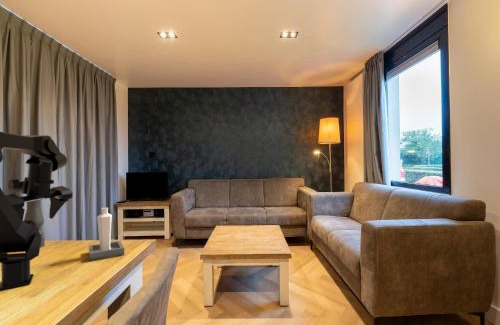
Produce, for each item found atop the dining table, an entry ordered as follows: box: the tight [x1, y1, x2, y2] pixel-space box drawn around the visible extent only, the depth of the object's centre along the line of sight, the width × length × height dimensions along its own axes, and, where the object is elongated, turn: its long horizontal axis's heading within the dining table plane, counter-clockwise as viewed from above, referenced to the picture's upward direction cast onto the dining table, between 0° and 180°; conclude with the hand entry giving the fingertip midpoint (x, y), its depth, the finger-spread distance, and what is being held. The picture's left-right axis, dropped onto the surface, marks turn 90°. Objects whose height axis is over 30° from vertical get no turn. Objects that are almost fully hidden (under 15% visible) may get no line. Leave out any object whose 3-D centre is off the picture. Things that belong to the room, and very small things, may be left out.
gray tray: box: [88, 240, 125, 262], centre depth 93 cm, size 10×10×2 cm
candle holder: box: [23, 200, 46, 249], centre depth 102 cm, size 6×6×25 cm
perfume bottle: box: [96, 207, 113, 251], centre depth 93 cm, size 5×4×15 cm
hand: (35, 222), depth 86 cm, fingers open, 9 cm apart
